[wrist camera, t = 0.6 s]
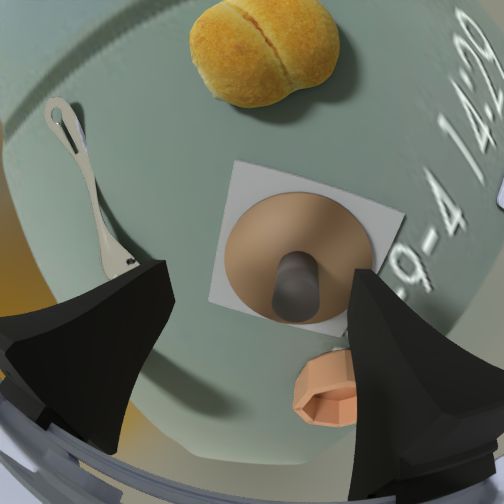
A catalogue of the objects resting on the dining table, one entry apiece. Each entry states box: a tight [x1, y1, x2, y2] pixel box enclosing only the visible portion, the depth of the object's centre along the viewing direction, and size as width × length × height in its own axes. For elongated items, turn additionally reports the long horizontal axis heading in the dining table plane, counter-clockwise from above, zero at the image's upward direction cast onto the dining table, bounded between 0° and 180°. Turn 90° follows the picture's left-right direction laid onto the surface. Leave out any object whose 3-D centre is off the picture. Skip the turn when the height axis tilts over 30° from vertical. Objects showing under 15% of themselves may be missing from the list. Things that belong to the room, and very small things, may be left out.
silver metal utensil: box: [45, 97, 140, 281], centre depth 19 cm, size 20×4×5 cm
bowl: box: [293, 349, 357, 427], centre depth 24 cm, size 9×9×4 cm
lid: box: [224, 192, 372, 325], centre depth 17 cm, size 11×11×5 cm
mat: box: [208, 159, 405, 338], centre depth 20 cm, size 12×12×1 cm
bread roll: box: [189, 0, 340, 108], centre depth 12 cm, size 8×9×4 cm
